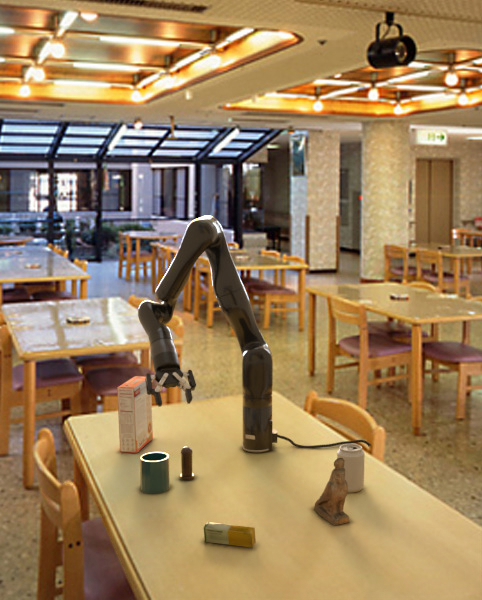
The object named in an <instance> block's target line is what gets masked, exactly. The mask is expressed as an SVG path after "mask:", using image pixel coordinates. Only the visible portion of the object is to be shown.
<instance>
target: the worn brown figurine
mask: <svg viewBox="0 0 482 600" xmlns="http://www.w3.org/2000/svg"><path fill="white" fill-rule="evenodd" d="M344 462H345V460H344V459H343V458H338V459H337V458H336V459H335V460H334V462H333V467H334V468H333V469H332V471H331V473H330V477H329V480H328V481H327V483H326V484H325V487H324V490H323V491H322V493H321V495H320V496H319V498H318V499H317V500H315V503H314V507H313V510H314V511H315V512H316V513H317V514H319V516H320V517H322V518H323V519H325V520H326V522H328V523H330V525H333V526H339V525H343V524H348V523H350V517H349V515H348V514H347V513H345V512H344V506H345V502H346V498H347V496H348V484H347V482H346V480H345V468H344Z"/></svg>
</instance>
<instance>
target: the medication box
mask: <svg viewBox="0 0 482 600" xmlns="http://www.w3.org/2000/svg"><path fill="white" fill-rule="evenodd" d="M203 535H204V543H214V544H221V545H228V546H237V547H245V548H251V549H252V548H254V546H255V545H256V542H257V541H256V528H255V527H253V526H244V525H235V524H227V523H219V522H209V521H207V522H206V523H205V525H204V526H203Z"/></svg>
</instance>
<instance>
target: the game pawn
mask: <svg viewBox="0 0 482 600" xmlns="http://www.w3.org/2000/svg"><path fill="white" fill-rule="evenodd" d="M180 461H181V462H180V463H181V468H180V469H181V473H180V474H179V480H180V481H184V482H187V481H192V480H194V479H195V473H193V449H192V447H190V446H183V447H182V448H181V450H180Z"/></svg>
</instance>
